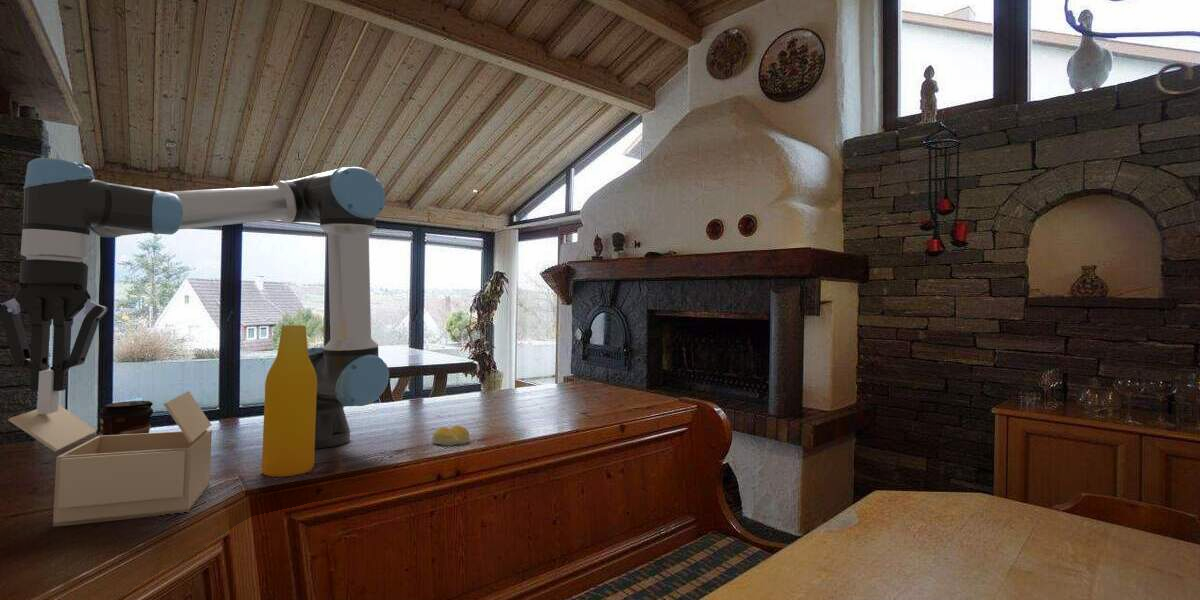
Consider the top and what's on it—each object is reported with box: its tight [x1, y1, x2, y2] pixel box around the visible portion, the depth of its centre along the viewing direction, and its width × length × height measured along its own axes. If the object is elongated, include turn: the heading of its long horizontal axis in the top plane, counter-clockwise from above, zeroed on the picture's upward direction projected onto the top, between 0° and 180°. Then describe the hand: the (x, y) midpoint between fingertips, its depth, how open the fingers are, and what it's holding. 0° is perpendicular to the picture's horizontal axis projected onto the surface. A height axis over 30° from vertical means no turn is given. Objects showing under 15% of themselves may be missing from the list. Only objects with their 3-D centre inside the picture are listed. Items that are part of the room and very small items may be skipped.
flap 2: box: [163, 390, 212, 442], centre depth 93 cm, size 7×14×1 cm
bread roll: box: [431, 425, 471, 446], centre depth 138 cm, size 8×9×4 cm
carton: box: [52, 429, 213, 528], centre depth 90 cm, size 16×16×10 cm
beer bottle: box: [261, 324, 317, 478], centre depth 110 cm, size 9×9×29 cm
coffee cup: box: [97, 400, 154, 436], centre depth 109 cm, size 9×8×13 cm
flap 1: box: [8, 403, 97, 453], centre depth 85 cm, size 7×14×1 cm
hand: (47, 412), depth 85 cm, fingers closed
